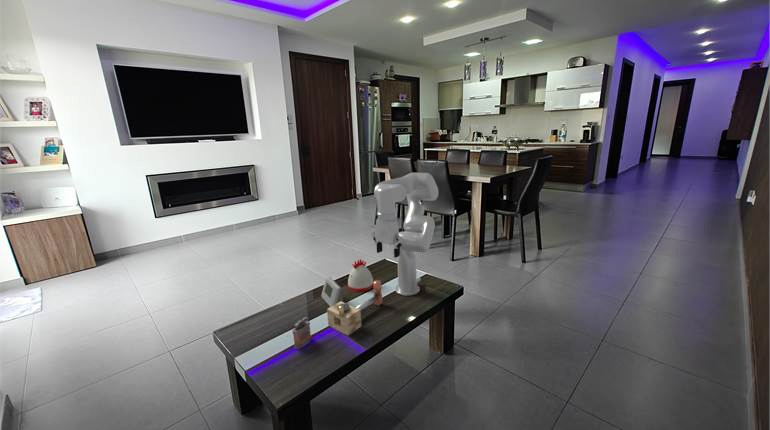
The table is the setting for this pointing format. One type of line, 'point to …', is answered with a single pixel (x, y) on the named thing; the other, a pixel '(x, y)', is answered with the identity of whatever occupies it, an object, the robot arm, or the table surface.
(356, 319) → the beige block
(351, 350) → the table surface
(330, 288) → the digital clock
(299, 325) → the lighter
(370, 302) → the copper head hammer
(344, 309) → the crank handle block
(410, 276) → the robot arm
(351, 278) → the kitchen timer
